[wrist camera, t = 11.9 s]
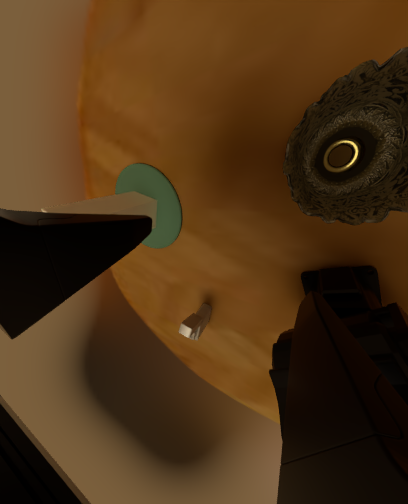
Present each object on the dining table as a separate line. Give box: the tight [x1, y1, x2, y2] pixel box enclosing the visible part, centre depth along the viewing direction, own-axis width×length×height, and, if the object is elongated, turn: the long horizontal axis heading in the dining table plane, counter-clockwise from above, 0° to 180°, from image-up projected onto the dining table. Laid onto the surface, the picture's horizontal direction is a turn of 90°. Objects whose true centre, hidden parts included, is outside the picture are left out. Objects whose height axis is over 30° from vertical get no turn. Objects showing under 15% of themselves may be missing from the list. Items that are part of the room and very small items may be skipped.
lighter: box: [179, 303, 212, 340], centre depth 28 cm, size 7×2×8 cm, turn 171°
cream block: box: [41, 191, 157, 229], centre depth 23 cm, size 4×4×12 cm
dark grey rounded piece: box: [283, 47, 408, 225], centre depth 12 cm, size 8×7×8 cm
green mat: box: [115, 164, 182, 248], centre depth 28 cm, size 13×13×1 cm
